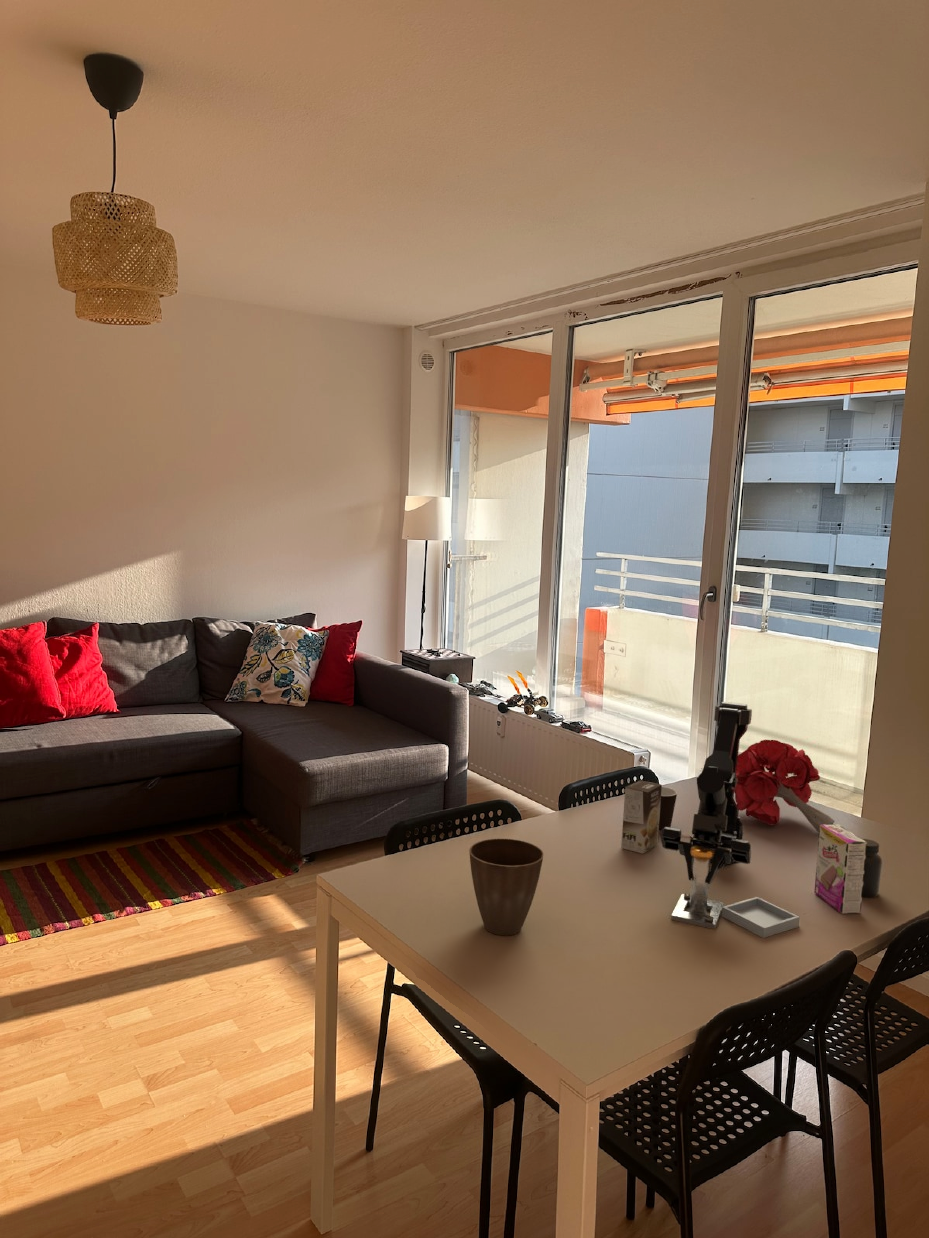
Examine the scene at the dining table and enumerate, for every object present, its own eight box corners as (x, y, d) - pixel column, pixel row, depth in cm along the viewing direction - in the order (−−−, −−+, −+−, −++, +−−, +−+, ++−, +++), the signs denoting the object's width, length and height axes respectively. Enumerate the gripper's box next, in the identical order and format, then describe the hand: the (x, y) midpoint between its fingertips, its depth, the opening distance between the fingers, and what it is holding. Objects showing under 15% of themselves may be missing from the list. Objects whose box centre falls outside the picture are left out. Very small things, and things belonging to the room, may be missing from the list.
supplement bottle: (847, 895, 203) (851, 844, 201) (845, 883, 209) (850, 834, 208) (880, 900, 200) (885, 849, 199) (877, 889, 207) (882, 839, 205)
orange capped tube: (697, 906, 194) (701, 844, 192) (714, 915, 190) (718, 852, 188) (681, 910, 191) (685, 848, 189) (698, 919, 187) (702, 855, 185)
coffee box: (643, 854, 223) (647, 792, 221) (620, 848, 226) (624, 787, 224) (658, 844, 230) (662, 784, 228) (635, 838, 234) (639, 779, 232)
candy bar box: (812, 893, 203) (818, 823, 201) (832, 892, 204) (838, 823, 202) (840, 914, 192) (847, 841, 190) (861, 914, 193) (868, 841, 191)
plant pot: (467, 909, 188) (470, 836, 186) (537, 912, 188) (541, 839, 186) (465, 942, 173) (468, 863, 171) (541, 946, 173) (545, 867, 171)
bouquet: (821, 842, 255) (737, 772, 270) (868, 784, 244) (779, 714, 258) (790, 868, 239) (703, 792, 254) (840, 806, 228) (746, 731, 242)
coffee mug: (677, 832, 239) (680, 796, 238) (645, 831, 239) (648, 795, 238) (668, 817, 251) (670, 783, 250) (638, 816, 251) (640, 782, 250)
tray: (756, 905, 195) (757, 896, 195) (798, 926, 186) (799, 916, 186) (721, 916, 189) (722, 906, 189) (763, 937, 180) (764, 928, 180)
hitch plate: (681, 898, 198) (682, 891, 197) (723, 906, 194) (723, 899, 194) (671, 919, 187) (671, 912, 186) (715, 929, 183) (715, 921, 183)
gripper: (665, 791, 195) (651, 856, 186) (753, 805, 187) (743, 873, 179) (669, 815, 203) (656, 878, 194) (755, 829, 195) (745, 896, 187)
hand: (699, 881), depth 188 cm, fingers closed on orange capped tube, 4 cm apart
